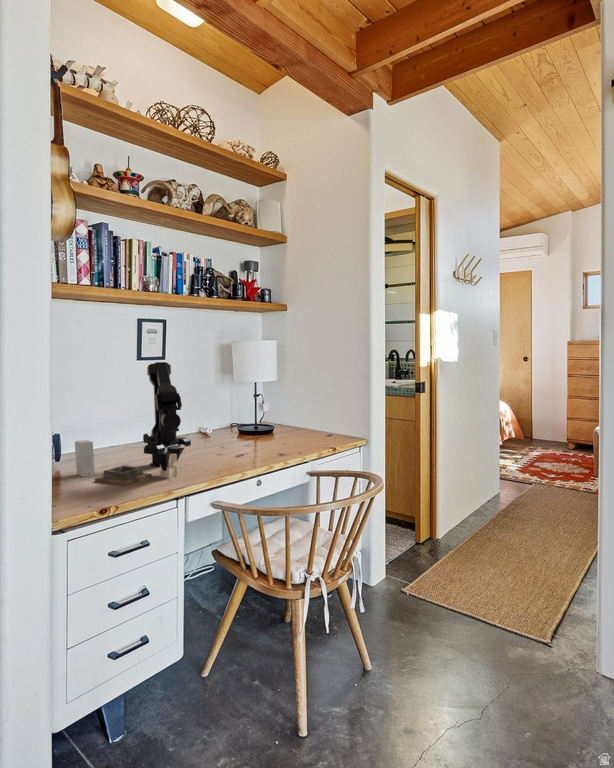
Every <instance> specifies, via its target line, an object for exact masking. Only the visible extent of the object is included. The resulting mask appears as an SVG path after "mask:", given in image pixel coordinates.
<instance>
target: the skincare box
mask: <svg viewBox="0 0 614 768" xmlns="http://www.w3.org/2000/svg"><path fill="white" fill-rule="evenodd" d="M74 453H75V467H76V469H75V470H76V475H78V476H81V477H83V478H86V477H92V476H95V474H96V473H95V460H94V459H95V458H94V457H95V456H94V442H93V441H92V440H91V441H90V440H87V439H83V440H77V441H74Z"/></svg>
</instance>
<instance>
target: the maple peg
mask: <svg viewBox="0 0 614 768" xmlns="http://www.w3.org/2000/svg"><path fill="white" fill-rule="evenodd" d="M177 464H178V461H177V454H174V453H170V456H169V460H168V465H167V469H166V471H163V470H162V467H161V464H160V466H159V468H160V469H159V472H160V474H159V475H160V478H161V479H167V480H169V479H170V480H171V479H172V478H175V477H178V465H177Z"/></svg>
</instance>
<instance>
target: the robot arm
mask: <svg viewBox="0 0 614 768" xmlns="http://www.w3.org/2000/svg"><path fill="white" fill-rule="evenodd" d="M171 366H172V365H171V364H170V363H169V362H166V361H160V362H159V361H156V362H154V363H150V364H147V367H146V368H147V369H146V373H147V374H146V375H147V376H148V379H149V382H150V383H151V385H152V386H153V397H154V398H153V400H154V402H153V403H154V422H155V423H154V425H153V427H152V429H151V431H150V432H147V433H144V434H143V435H142V436H143V437H142V440H143V443H144V444H146V445H144V446H143V454H144V455H151V460H152V462H151V463H149V466H155V467H160V464H161V467H162V470H163V471H166V469H167V465H168V460H169V456H170V453H174V454H177V462H179V461H178V460H179V458H180V456H181V455H182V453H183V451H184V450H185V448H186V447H190V446H191V445H192V441H191V439H190V438H189V437H184V436H183V437H182V436H177V432H180V425H181V422H182V421H181V416H180V415H179V414H178V413H177V411H180V410H182V408H183V407H182V406H183V405H182V398H181V395H180V393H179V392H178V391H177V387H176V386H174V385H172V382H171V375H172V369H171V368H172V367H171ZM182 445H183V446H184V447H182Z"/></svg>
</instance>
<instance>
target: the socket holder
mask: <svg viewBox="0 0 614 768" xmlns="http://www.w3.org/2000/svg"><path fill="white" fill-rule="evenodd" d="M152 476H153V475H152V473H148V472H144V468H143V467H142V466H141V467H140V466H132V465H126V464H125V465H124V464H123V465H119V466H115V467H113V468H108V469H105V470H103V475H102V476H100V477H96V478H94V483H95V482H96V483H102V484H110V485H116V486H123V487H126V486H128V485H131V484H134V483H137V482H139V481H143V480H147V479H149V478H152Z"/></svg>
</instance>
